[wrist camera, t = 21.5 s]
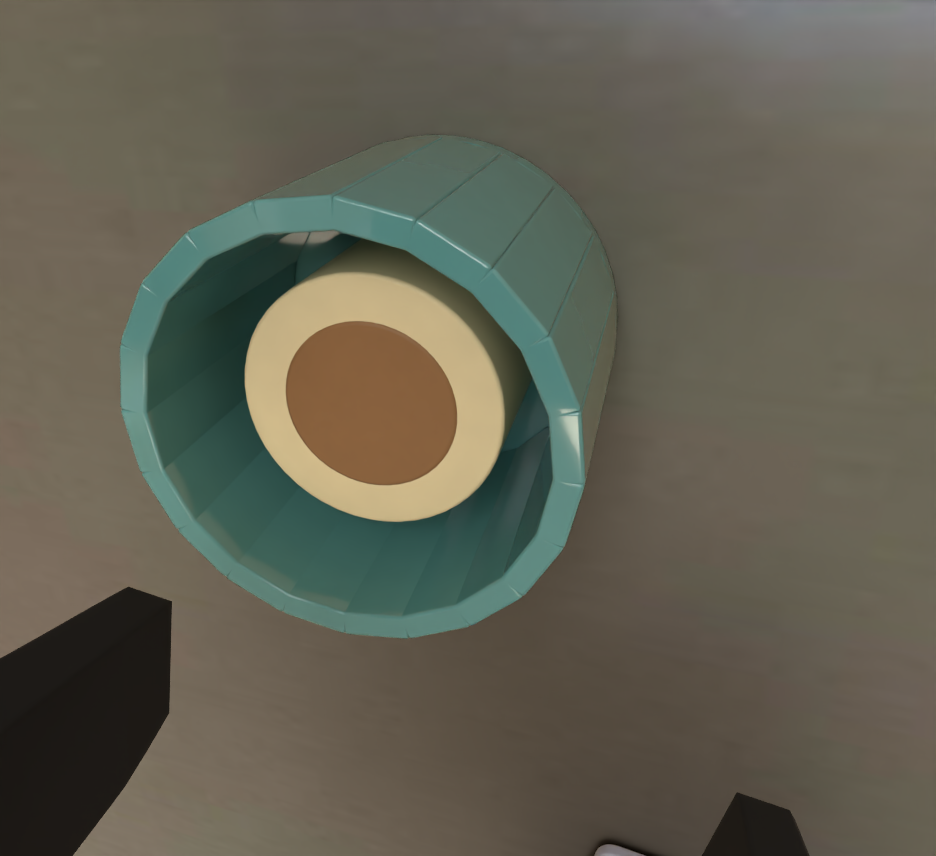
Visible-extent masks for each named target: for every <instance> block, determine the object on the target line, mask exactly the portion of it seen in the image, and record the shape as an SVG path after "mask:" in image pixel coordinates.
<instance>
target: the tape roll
mask: <svg viewBox="0 0 936 856" xmlns="http://www.w3.org/2000/svg"><path fill="white" fill-rule="evenodd" d="M531 380H532V376H531V374H530V371H529V369H528V366H527V364H526V362H525V359H524V357H523V355H522V352H521V350H520V349H519V348H518V347H517V345H516V344H515V343H514V342H513V341H512V340H511V338H510V337H509V336H508V335H507V334H506V333H505V331H504V330H503V329H502V328H501V327H500V326H499V324H498V323H497V322H496V321H495V320H494V319H493V317H492V316H491V315H490V314H489V313H488V311H487V310H486V309H485V308H484V307H483V306H482V304H481V303H480V302H479V301H478V300H477V299H476V297H475V296H474V295H473V294H472V293H471V292H470V291H468V290H467V289H465V288H463V287H462V286H460V285H459V284H457V283H456V282H454V281H453V280H451V279H449V278H448V277H446V276H445V275H443V274H442V273H440V272H439V271H437V270H435V269H434V268H432V267H431V266H429V265H428V264H426V263H425V262H423V261H421V260H420V259H418V258H417V257H415V256H414V255H412V254H411V253H409V252H407V251H406V250H402V249H399V248H395V247H391V246H388V245H384V244H381V243H377V242H373V241H370V240H366V239H363V238H362V239H361V240H359V241H358V242H356V243H355V244H354V245H352V246H351V247H349V248H348V249H347V250H345V251H344V252H342V253H341V254H339V255H338V256H337V257H335V258H334V259H332V260H331V261H329V262H328V263H327V264H325V265H324V266H322V267H321V268H319V269H318V270H317V271H315V272H314V273H312V274H311V275H310V276H308V277H307V278H305V279H304V280H302V281H301V282H300V283H298V284H297V285H295V286H294V287H292V288H291V289H290V290H288V291H287V292H286V293H285V294H283V295H282V296H281V297H279V298H278V299H277V300H276V301H275V302H274V303H273V304H272V305H271V306H270V307H269V309H268V310H267V311H266V312H265V314H264V315H263V317H262V318H261V320H260V321H259V323H258V325H257V327H256V329H255V331H254V333H253V335H252V338H251V341H250V344H249V348H248V351H247V357H246V364H245V390H246V398H247V403H248V407H249V411H250V415H251V417H252V420H253V423H254V425H255V428H256V430H257V432H258V434H259V436H260V438H261V440H262V442H263V444H264V445H265V447H266V448H267V450H268V451H269V453H270V454H271V456H272V457H273V459H274V460H275V461H276V462H277V464H278V465H279V466H280V467H281V468H282V470H283V471H284V472H285V473H286V474H287V475H288V476H289V477H290V478H291V479H292V480H293V481H294V482H296V483H297V484H298V485H299V486H300V487H302V488H303V489H304V490H306V491H307V492H308V493H309V494H311V495H313V496H314V497H316V498H317V499H319V500H320V501H322V502H324V503H326V504H328V505H330V506H332V507H334V508H336V509H338V510H341V511H343V512H346V513H348V514H351V515H354V516H358V517H362V518H366V519H371V520H378V521H386V522H404V521H415V520H420V519H424V518H429V517H432V516H435V515H437V514H440V513H443V512H445V511H447V510H449V509H451V508H453V507H455V506H457V505H459V504H460V503H461V502H463V501H464V500H465V499H467V498H468V497H469V496H471V495H472V494H473V493H474V492H475V491H476V490H477V489H478V488H479V487H480V486H481V485H482V483H483V482H484V481H485V479H486V478H487V477H488V475H489V474H490V472H491V470H492V469H493V467H494V465H495V463H496V461H497V459H498V457H499V454H500V452H501V450H502V447H503V445H504V443H505V440H506V438H507V436H508V433H509V431H510V429H511V426H512V424H513V422H514V419H515V417H516V415H517V412H518V410H519V408H520V405H521V403H522V401H523V398H524V396H525V394H526V391H527V389H528V387H529V384H530V382H531Z"/></svg>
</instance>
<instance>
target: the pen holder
mask: <svg viewBox="0 0 936 856" xmlns="http://www.w3.org/2000/svg"><path fill="white" fill-rule="evenodd" d="M362 238H363V239H366V240H370V241H373V242H377V243H381V244H384V245H388V246H391V247H395V248H399V249H402V250H406V251H407V252H409V253H411V254H412V255H414V256H415V257H417V258H418V259H420V260H421V261H423V262H425V263H426V264H428V265H429V266H431V267H432V268H434V269H435V270H437V271H439V272H440V273H442V274H443V275H445V276H446V277H448V278H449V279H451V280H453V281H454V282H456V283H457V284H459V285H460V286H462V287H463V288H465V289H467V290H468V291H470V292H471V293H472V294H473V295H474V296H475V297H476V299H477V300H478V301H479V302H480V303H481V304H482V306H483V307H484V308H485V309H486V310H487V311H488V313H489V314H490V315H491V316H492V317H493V319H494V320H495V321H496V322H497V323H498V324H499V326H500V327H501V328H502V329H503V330H504V331H505V333H506V334H507V335H508V336H509V337H510V338H511V340H512V341H513V342H514V343H515V344H516V345H517V347H518V348H519V349H520V350H521V352H522V355H523V357H524V359H525V362H526V364H527V366H528V369H529V371H530V374H531V376H532V380H531V382H530V384H529V387H528V389H527V391H526V394H525V396H524V398H523V401H522V403H521V405H520V408H519V410H518V412H517V415H516V417H515V419H514V422H513V424H512V426H511V429H510V431H509V433H508V436H507V438H506V440H505V443H504V445H503V447H502V450H501V452H500V454H499V457H498V459H497V461H496V463H495V465H494V467H493V469H492V470H491V472H490V474H489V475H488V477H487V478H486V479H485V481H484V482H483V483H482V485H481V486H480V487H479V488H478V489H477V490H476V491H475V492H474V493H473V494H472V495H471V496H469V497H468V498H467V499H465V500H464V501H463V502H461V503H460V504H459V505H457V506H455V507H453V508H451V509H449V510H447V511H445V512H443V513H440V514H437V515H435V516H432V517H429V518H424V519H420V520H415V521H404V522H386V521H378V520H371V519H366V518H362V517H358V516H354V515H351V514H348V513H346V512H343V511H341V510H338V509H336V508H334V507H332V506H330V505H328V504H326V503H324V502H322V501H320V500H319V499H317V498H316V497H314V496H313V495H311V494H309V493H308V492H307V491H306V490H304V489H303V488H302V487H300V486H299V485H298V484H297V483H296V482H294V481H293V480H292V479H291V478H290V477H289V476H288V475H287V474H286V473H285V472H284V471H283V470H282V468H281V467H280V466H279V465H278V464H277V462H276V461H275V460H274V459H273V457H272V456H271V454H270V453H269V451H268V450H267V448H266V447H265V445H264V444H263V442H262V440H261V438H260V436H259V434H258V432H257V430H256V428H255V425H254V423H253V420H252V417H251V415H250V411H249V407H248V403H247V398H246V390H245V364H246V357H247V351H248V348H249V344H250V341H251V338H252V335H253V333H254V331H255V329H256V327H257V325H258V323H259V321H260V320H261V318H262V317H263V315H264V314H265V312H266V311H267V310H268V309H269V307H270V306H271V305H272V304H273V303H274V302H275V301H276V300H277V299H278V298H279V297H281V296H282V295H283V294H285V293H286V292H287V291H288V290H290V289H291V288H292V287H294V286H295V285H297V284H298V283H300V282H301V281H302V280H304V279H305V278H307V277H308V276H310V275H311V274H312V273H314V272H315V271H317V270H318V269H319V268H321V267H322V266H324V265H325V264H327V263H328V262H329V261H331V260H332V259H334V258H335V257H337V256H338V255H339V254H341V253H342V252H344V251H345V250H347V249H348V248H349V247H351V246H352V245H354V244H355V243H356V242H358V241H359V240H361V239H362ZM617 322H618V314H617V295H616V290H615V284H614V279H613V274H612V270H611V267H610V264H609V261H608V258H607V255H606V252H605V250H604V248H603V246H602V243H601V241H600V239H599V237H598V235H597V233H596V231H595V229H594V227H593V226H592V224H591V223H590V221H589V220H588V218H587V217H586V215H585V214H584V212H583V211H582V209H581V208H580V207H579V206H578V204H577V203H576V202H575V201H574V200H573V199H572V198H571V196H570V195H569V194H568V193H567V192H566V191H565V189H563V188H562V187H561V186H560V185H559V184H558V183H557V182H555V181H554V180H553V179H552V178H551V177H550V176H549V175H548V174H546V173H545V172H544V171H542V170H541V169H539V168H538V167H536V166H535V165H533V164H532V163H530V162H529V161H527V160H526V159H524V158H522V157H520V156H518V155H516V154H514V153H512V152H510V151H508V150H506V149H504V148H501V147H498V146H495V145H492V144H489V143H486V142H483V141H480V140H476V139H471V138H465V137H460V136H452V135H422V136H412V137H406V138H402V139H398V140H394V141H387V142H385V143H380V144H378V145H376V146H374V147H371V148H369V149H367V150H365V151H362V152H360V153H358V154H355V155H353V156H351V157H349V158H346V159H344V160H342V161H340V162H337V163H335V164H333V165H330V166H328V167H326V168H324V169H321V170H319V171H317V172H314V173H312V174H310V175H308V176H305V177H303V178H301V179H299V180H296V181H294V182H292V183H289V184H287V185H285V186H283V187H280V188H278V189H276V190H274V191H271V192H269V193H267V194H264V195H262V196H260V197H258V198H255V199H253V200H251V201H249V202H246V203H244V204H242V205H240V206H238V207H236V208H234V209H232V210H230V211H227V212H225V213H223V214H221V215H219V216H217V217H215V218H213V219H211V220H208V221H206V222H204V223H202V224H200V225H198V226H196V227H194V228H192V229H190V230H189V231H188V232H186V233H184V234H183V236H182V237H181V238H180V239H179V240H178V241H177V242H176V243H175V245H174V246H173V247H172V248H171V249H170V250H169V251H168V252H167V254H166V255H165V256H164V257H163V258H162V259H161V260H160V261H159V262H158V264H157V265H156V266H155V267H154V268H153V269H152V270H151V271H150V273H149V274H148V275H147V276H146V277H145V278H144V280H143V283H142V284H141V285H140V288H139V291H138V294H137V296H136V299H135V302H134V305H133V308H132V311H131V314H130V316H129V319H128V322H127V325H126V328H125V331H124V333H123V336H122V339H121V345H120V407H121V408H122V410H121V413H122V416H123V419H124V422H125V425H126V429H127V432H128V435H129V438H130V441H131V444H132V447H133V451H134V454H135V457H136V460H137V463H138V466H139V469H140V471H141V472H143V473H142V476H143V477H144V479H145V481H146V482H147V484H148V485H149V487H150V488H151V490H152V492H153V493H154V495H155V496H156V498H157V499H158V501H159V503H160V504H161V506H162V507H163V509H164V511H165V512H166V514H167V515H168V517H169V518H170V520H171V522H172V523H173V525H174V526H175V528H177V529H179V530H178V531H179V533H180V534H181V535H182V536H184V537H185V538H186V539H187V540H188V541H189V542H190V543H191V544H192V545H193V546H194V547H195V548H196V549H197V550H198V551H199V552H200V553H201V554H202V555H203V556H204V557H205V558H206V559H207V560H208V561H209V562H210V563H211V564H212V565H213V566H214V567H215V568H216V569H217V570H218V571H219V572H220V573H221V574H222V575H224V576H227V579H229V580H230V581H232V582H233V583H235V584H237V585H238V586H240V587H242V588H243V589H245V590H246V591H248V592H250V593H251V594H253V595H255V596H256V597H258V598H259V599H261V600H263V601H264V602H266V603H268V604H269V605H271V606H272V607H274V608H276V609H277V610H279V611H284V613H285V614H288V615H291V616H294V617H297V618H300V619H303V620H306V621H309V622H312V623H315V624H318V625H321V626H324V627H327V628H330V629H333V630H336V631H339V632H342V633H344V632H345V633H346V634H353V635H366V636H378V637H390V638H403V639H407V638H416V637H421V636H426V635H431V634H436V633H441V632H446V631H451V630H456V629H461V628H466V627H468V626H470V625H474V624H476V623H478V622H479V621H481V620H483V619H485V618H486V617H488V616H490V615H492V614H493V613H495V612H497V611H499V610H501V609H502V608H504V607H506V606H508V605H509V604H511V603H513V602H515V601H517V600H518V599H520V598H522V596H523V595H525V594H526V593H527V592H528V591H529V590H530V589H531V588H532V586H533V585H534V584H535V583H536V582H537V580H538V579H539V578H540V577H541V576H542V574H543V573H544V572H545V571H546V570H547V568H548V567H549V566H550V565H551V564H552V563H553V561H554V560H555V559H556V558H557V557H558V555H559V554H560V553H561V552H562V551H563V547H564V546H565V545H566V543H567V540H568V537H569V534H570V531H571V528H572V525H573V522H574V519H575V516H576V513H577V510H578V506H579V503H580V500H581V497H582V494H583V491H584V488H585V484H586V480H587V475H588V471H589V466H590V462H591V457H592V453H593V448H594V444H595V439H596V435H597V430H598V426H599V421H600V417H601V412H602V408H603V403H604V399H605V394H606V390H607V386H608V381H609V377H610V372H611V368H612V363H613V359H614V354H615V348H616V332H617Z"/></svg>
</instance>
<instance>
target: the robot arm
mask: <svg viewBox="0 0 936 856" xmlns="http://www.w3.org/2000/svg"><path fill="white" fill-rule="evenodd" d="M171 615H172V601H169V600H166V599H163V598H160V597H157V596H154V595H151V594H148V593H145V592H142V591H139V590H136V589H133V588H130V587H127V588H125V589H123V590H121V591H119V592H118V593H116V594H114V595H112V596H110V597H109V598H107V599H105V600H103V601H101V602H99V603H98V604H96V605H94V606H92V607H91V608H89V609H87V610H85V611H84V612H82V613H80V614H78V615H77V616H75V617H73V618H71V619H70V620H68V621H66V622H64V623H63V624H61V625H59V626H57V627H55V628H54V629H52V630H50V631H48V632H47V633H45V634H43V635H41V636H40V637H38V638H36V639H34V640H32V641H31V642H29V643H27V644H25V645H24V646H22V647H20V648H18V649H17V650H15V651H13V652H11V653H9V654H7V655H6V656H4V657H2V658H0V856H73V854H74V853H75V852H76V851H77V849H78V848H79V847H80V845H81V844H82V843H83V841H84V840H85V839H86V837H87V836H88V835H89V834H90V832H91V831H92V830H93V828H94V827H95V826H96V824H97V823H98V822H99V820H100V819H101V818H102V816H103V815H104V814H105V812H106V811H107V810H108V809H109V807H110V806H111V805H112V803H113V802H114V801H115V799H116V798H117V796H118V795H119V794H120V792H121V791H122V790H123V788H124V787H125V786H126V784H127V782H128V781H129V779H130V777H131V776H132V774H133V773H134V771H135V769H136V768H137V766H138V765H139V763H140V761H141V760H142V758H143V756H144V755H145V753H146V752H147V750H148V748H149V746H150V745H151V743H152V741H153V740H154V738H155V736H156V735H157V733H158V731H159V729H160V728H161V726H162V724H163V723H164V721H165V719H166V717H167V716H168V714H169V698H170V657H171ZM594 856H645V855H642V854H639V853H637V852H634V851H631V850H628V849H625V848H622V847H620V846H617V845H612V844H606V845H603V846H600V847H599V848H598V849H597V851H596V853H595V855H594ZM702 856H809V853H808V851H807V849H806V846H805V844H804V841H803V839H802V836H801V834H800V831H799V829H798V826H797V824H796V822H795V819H794V817H793V816H792V814H791V812H790V810H788V809H785V808H782V807H779V806H776V805H773V804H770V803H767V802H764V801H761V800H758V799H755V798H752V797H749V796H746V795H743V794H740V793H736V795H735V797H734V798H733V800H732V802H731V804H730V806H729V807H728V809H727V811H726V813H725V815H724V817H723V818H722V820H721V822H720V824H719V826H718V827H717V829H716V831H715V833H714V835H713V836H712V838H711V840H710V842H709V844H708V845H707V847H706V849H705V851H704V853H703V854H702Z"/></svg>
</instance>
